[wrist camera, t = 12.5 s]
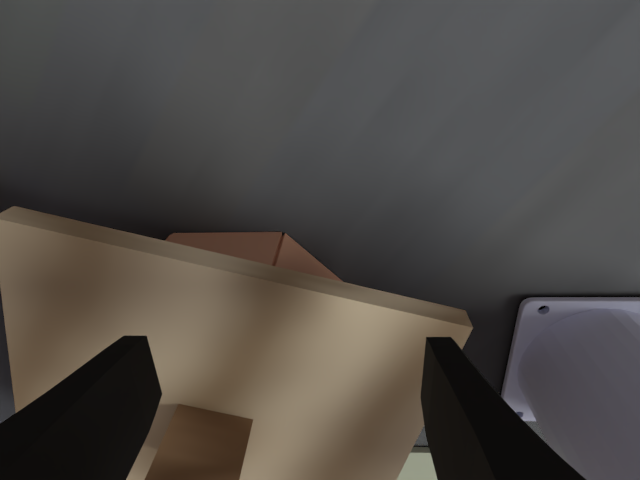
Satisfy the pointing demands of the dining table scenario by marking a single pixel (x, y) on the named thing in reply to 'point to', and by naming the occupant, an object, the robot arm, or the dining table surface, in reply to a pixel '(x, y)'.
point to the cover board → (224, 351)
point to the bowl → (257, 249)
